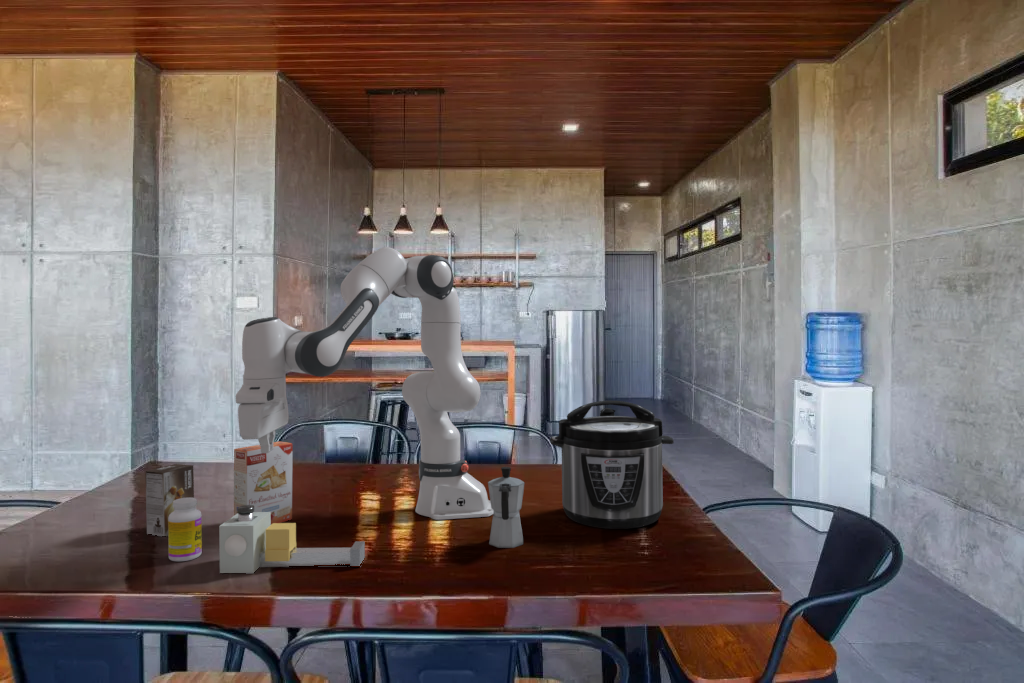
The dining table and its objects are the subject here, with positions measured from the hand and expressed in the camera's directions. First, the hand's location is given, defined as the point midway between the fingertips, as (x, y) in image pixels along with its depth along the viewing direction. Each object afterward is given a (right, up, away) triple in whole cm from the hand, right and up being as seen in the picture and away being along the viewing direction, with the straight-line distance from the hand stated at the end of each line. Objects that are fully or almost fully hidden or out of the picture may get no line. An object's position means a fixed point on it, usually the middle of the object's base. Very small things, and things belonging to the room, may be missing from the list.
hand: (267, 451), depth 140 cm
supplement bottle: (-18, -24, 0) cm, 30 cm away
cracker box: (-10, -23, +23) cm, 35 cm away
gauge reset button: (-3, -18, -4) cm, 19 cm away
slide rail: (+10, -24, -4) cm, 26 cm away
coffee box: (-32, -24, +19) cm, 44 cm away
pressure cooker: (+82, -23, +30) cm, 90 cm away
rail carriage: (+5, -22, -4) cm, 23 cm away
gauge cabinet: (-3, -24, -4) cm, 24 cm away
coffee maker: (+53, -24, +9) cm, 59 cm away
